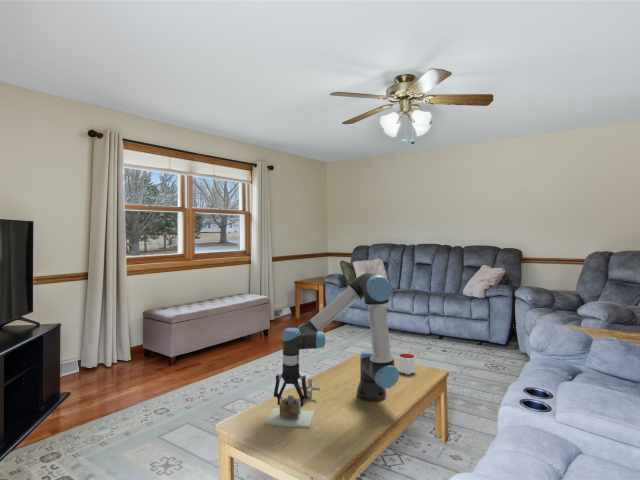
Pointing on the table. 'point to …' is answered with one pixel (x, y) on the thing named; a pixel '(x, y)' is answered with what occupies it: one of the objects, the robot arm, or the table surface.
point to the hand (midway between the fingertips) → (290, 412)
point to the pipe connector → (311, 388)
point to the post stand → (301, 421)
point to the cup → (406, 363)
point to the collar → (289, 409)
